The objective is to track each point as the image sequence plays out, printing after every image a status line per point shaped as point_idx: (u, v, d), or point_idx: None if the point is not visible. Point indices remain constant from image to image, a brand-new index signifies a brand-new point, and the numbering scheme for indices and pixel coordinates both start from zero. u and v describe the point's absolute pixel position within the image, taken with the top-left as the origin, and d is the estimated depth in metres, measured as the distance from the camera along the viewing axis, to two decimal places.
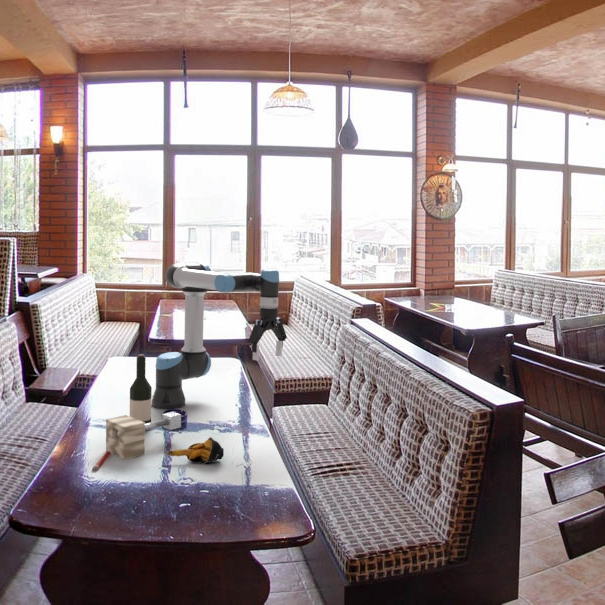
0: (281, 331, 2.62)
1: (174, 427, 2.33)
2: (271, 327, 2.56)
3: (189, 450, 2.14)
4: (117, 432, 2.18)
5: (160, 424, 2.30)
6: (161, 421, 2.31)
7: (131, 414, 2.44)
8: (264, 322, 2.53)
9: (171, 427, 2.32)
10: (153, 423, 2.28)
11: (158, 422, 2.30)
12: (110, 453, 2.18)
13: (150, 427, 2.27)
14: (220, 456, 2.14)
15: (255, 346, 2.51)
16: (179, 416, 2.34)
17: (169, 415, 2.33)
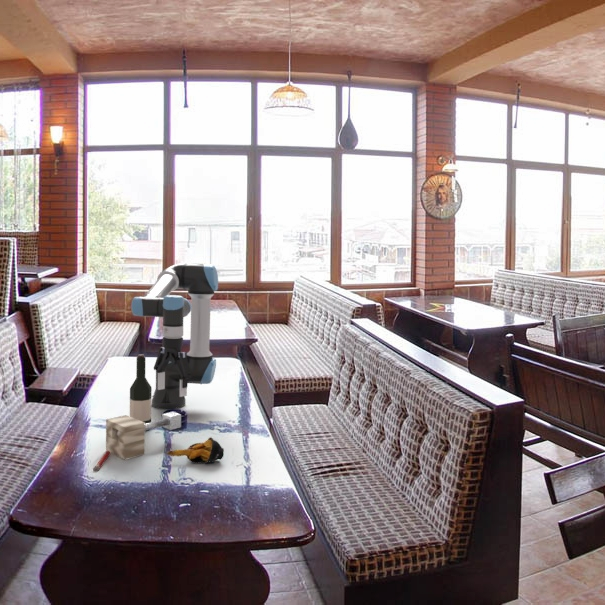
0: None
1: (174, 427, 2.33)
2: (171, 359, 2.31)
3: (189, 450, 2.14)
4: (117, 432, 2.18)
5: (160, 424, 2.30)
6: (161, 421, 2.31)
7: (131, 414, 2.44)
8: (164, 351, 2.33)
9: (171, 427, 2.32)
10: (153, 423, 2.28)
11: (158, 422, 2.30)
12: (109, 453, 2.18)
13: (150, 427, 2.27)
14: (220, 456, 2.14)
15: None
16: (179, 416, 2.34)
17: (169, 415, 2.33)
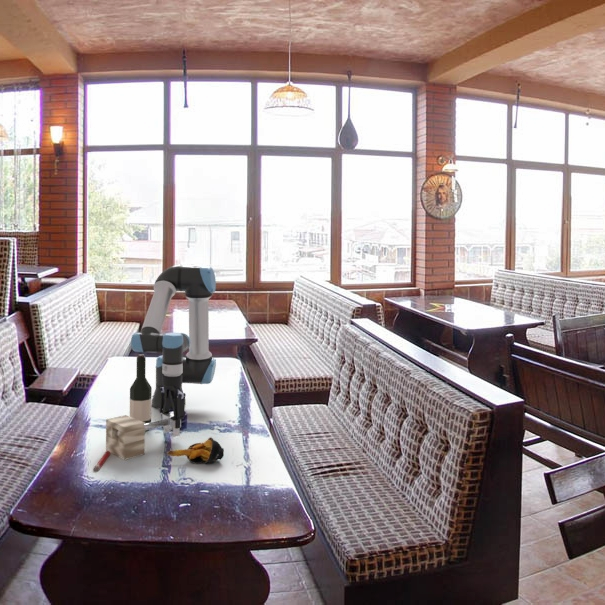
0: None
1: None
2: None
3: (189, 450, 2.14)
4: (117, 432, 2.18)
5: (160, 424, 2.30)
6: (161, 421, 2.31)
7: (131, 414, 2.44)
8: (164, 388, 2.35)
9: (171, 427, 2.32)
10: (153, 423, 2.28)
11: (158, 422, 2.30)
12: (109, 453, 2.18)
13: (150, 427, 2.27)
14: (220, 456, 2.14)
15: None
16: None
17: (169, 415, 2.33)
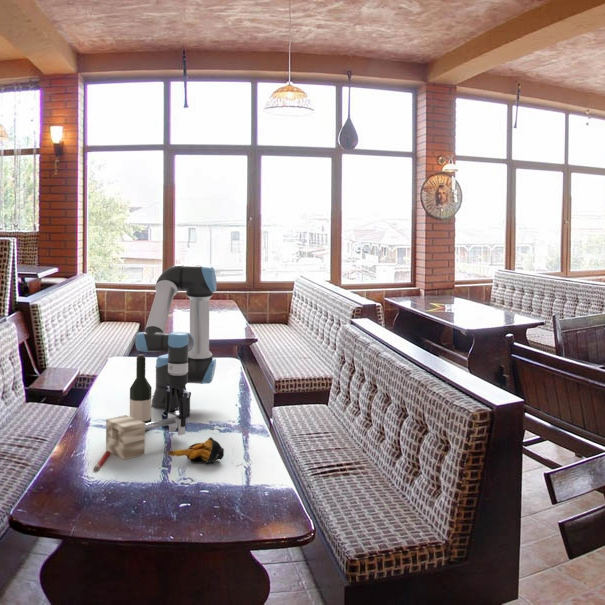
0: None
1: None
2: None
3: (189, 450, 2.14)
4: None
5: (166, 423, 2.32)
6: (167, 420, 2.33)
7: (131, 414, 2.44)
8: (169, 387, 2.37)
9: (177, 426, 2.34)
10: (159, 422, 2.30)
11: (164, 421, 2.31)
12: (109, 453, 2.18)
13: (156, 426, 2.29)
14: (220, 456, 2.14)
15: None
16: None
17: (175, 414, 2.35)
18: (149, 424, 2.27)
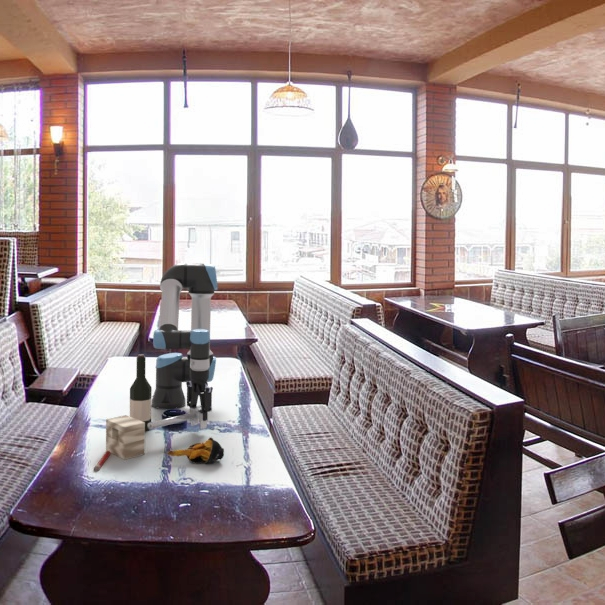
0: None
1: None
2: None
3: (189, 450, 2.14)
4: (149, 424, 2.28)
5: (188, 417, 2.40)
6: (189, 414, 2.40)
7: (131, 414, 2.44)
8: (191, 382, 2.45)
9: (199, 420, 2.42)
10: (182, 416, 2.38)
11: (186, 415, 2.39)
12: (109, 453, 2.18)
13: (179, 420, 2.36)
14: (220, 456, 2.14)
15: None
16: None
17: (197, 409, 2.43)
18: (173, 418, 2.34)
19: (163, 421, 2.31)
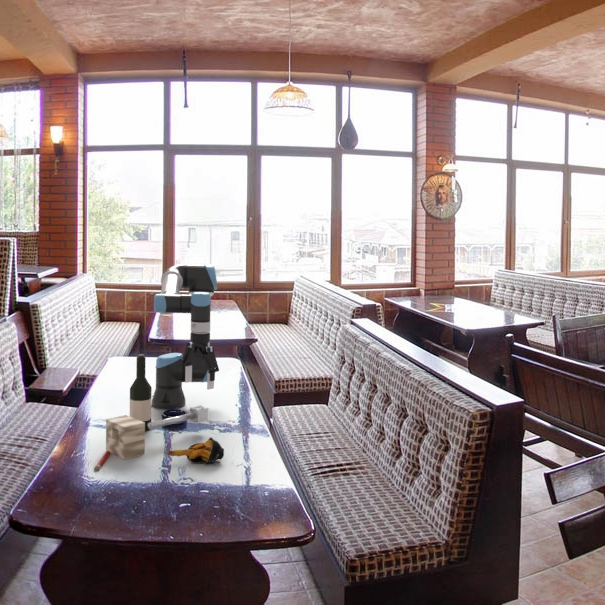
0: None
1: (202, 420, 2.43)
2: (198, 353, 2.41)
3: (189, 450, 2.14)
4: (149, 424, 2.28)
5: (188, 417, 2.40)
6: (189, 414, 2.40)
7: (131, 414, 2.44)
8: (192, 346, 2.43)
9: (199, 420, 2.42)
10: (182, 416, 2.38)
11: (187, 415, 2.39)
12: (110, 453, 2.18)
13: (179, 420, 2.36)
14: (220, 456, 2.14)
15: None
16: (206, 410, 2.44)
17: (197, 409, 2.43)
18: (173, 418, 2.35)
19: (163, 421, 2.31)
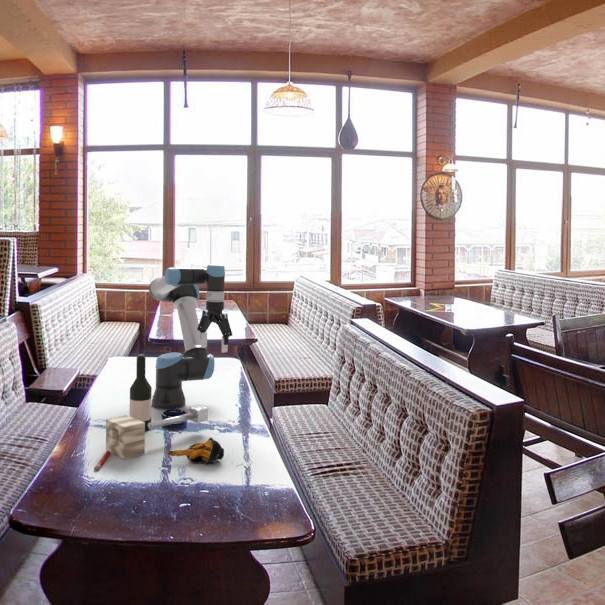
0: None
1: (202, 420, 2.43)
2: (213, 320, 2.64)
3: (189, 450, 2.14)
4: (149, 424, 2.28)
5: (188, 417, 2.40)
6: (189, 414, 2.40)
7: (131, 414, 2.44)
8: (207, 313, 2.67)
9: (199, 420, 2.42)
10: (182, 416, 2.38)
11: (187, 415, 2.39)
12: (110, 453, 2.18)
13: (179, 420, 2.36)
14: (220, 456, 2.14)
15: None
16: (206, 410, 2.44)
17: (197, 409, 2.43)
18: (173, 418, 2.35)
19: (163, 421, 2.31)
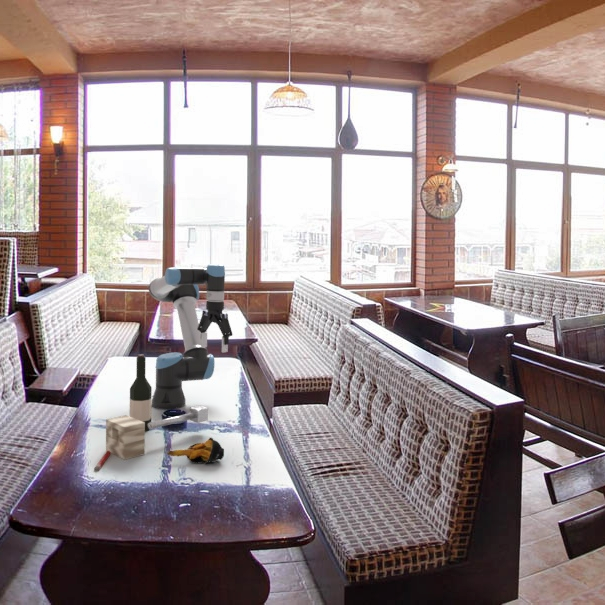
0: None
1: (202, 420, 2.43)
2: (213, 320, 2.64)
3: (189, 450, 2.14)
4: (149, 424, 2.28)
5: (188, 417, 2.40)
6: (189, 414, 2.40)
7: (131, 414, 2.44)
8: (207, 313, 2.67)
9: (199, 420, 2.42)
10: (182, 416, 2.38)
11: (187, 415, 2.39)
12: (110, 453, 2.18)
13: (179, 420, 2.36)
14: (220, 456, 2.14)
15: None
16: (206, 410, 2.44)
17: (197, 409, 2.43)
18: (173, 418, 2.35)
19: (163, 421, 2.31)
